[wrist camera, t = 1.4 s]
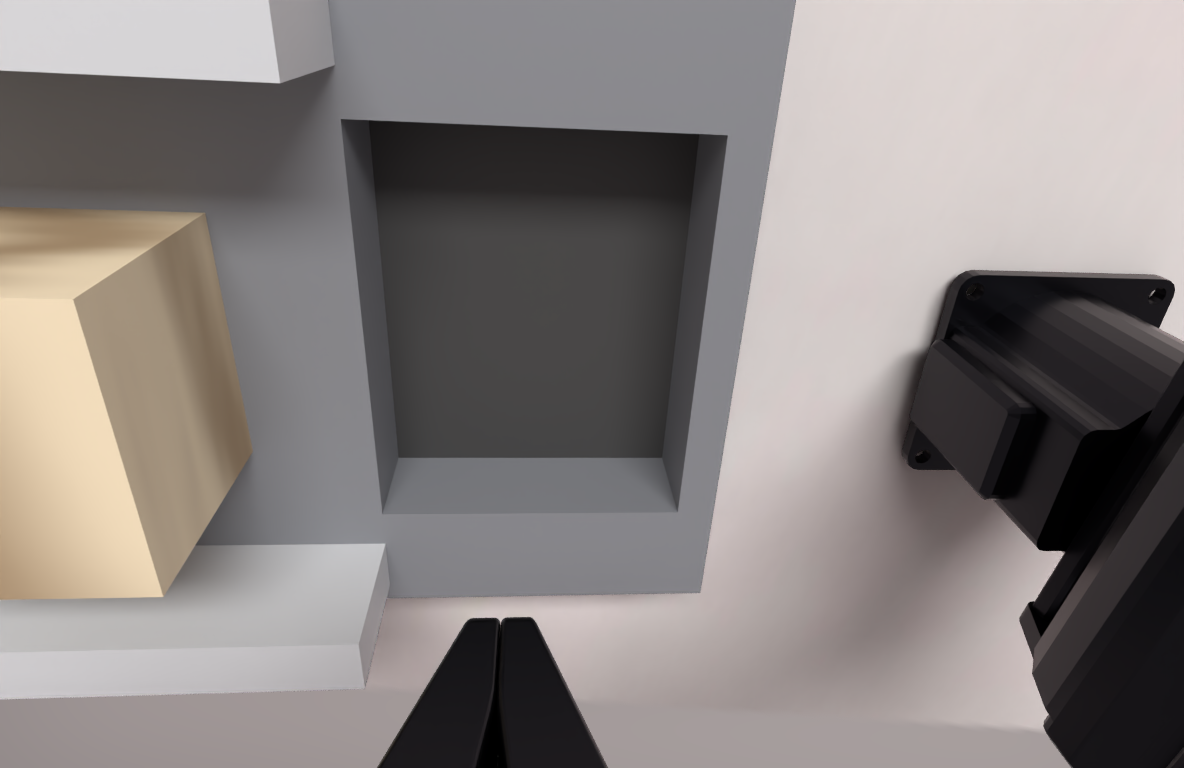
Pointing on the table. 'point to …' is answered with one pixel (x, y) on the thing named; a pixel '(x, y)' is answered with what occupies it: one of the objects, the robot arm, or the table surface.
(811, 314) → the table surface
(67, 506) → the maple block
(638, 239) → the stepped grey tray
